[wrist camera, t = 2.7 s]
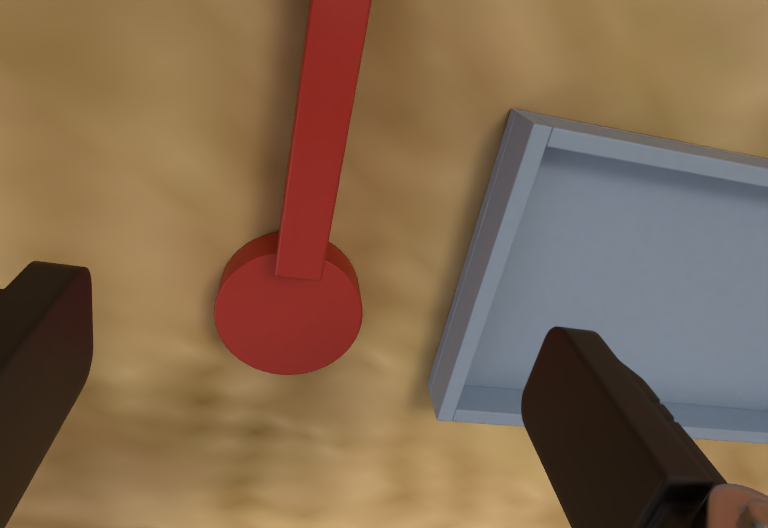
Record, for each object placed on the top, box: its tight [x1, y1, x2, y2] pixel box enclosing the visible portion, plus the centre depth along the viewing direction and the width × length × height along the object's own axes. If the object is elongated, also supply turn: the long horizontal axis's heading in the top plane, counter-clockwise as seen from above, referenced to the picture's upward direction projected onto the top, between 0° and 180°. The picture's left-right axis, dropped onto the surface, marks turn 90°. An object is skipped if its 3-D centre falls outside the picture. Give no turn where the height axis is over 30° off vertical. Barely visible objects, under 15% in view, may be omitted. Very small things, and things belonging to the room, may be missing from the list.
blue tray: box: [427, 109, 768, 444], centre depth 21 cm, size 17×11×2 cm, turn 78°
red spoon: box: [214, 0, 372, 375], centre depth 17 cm, size 13×5×3 cm, turn 168°
